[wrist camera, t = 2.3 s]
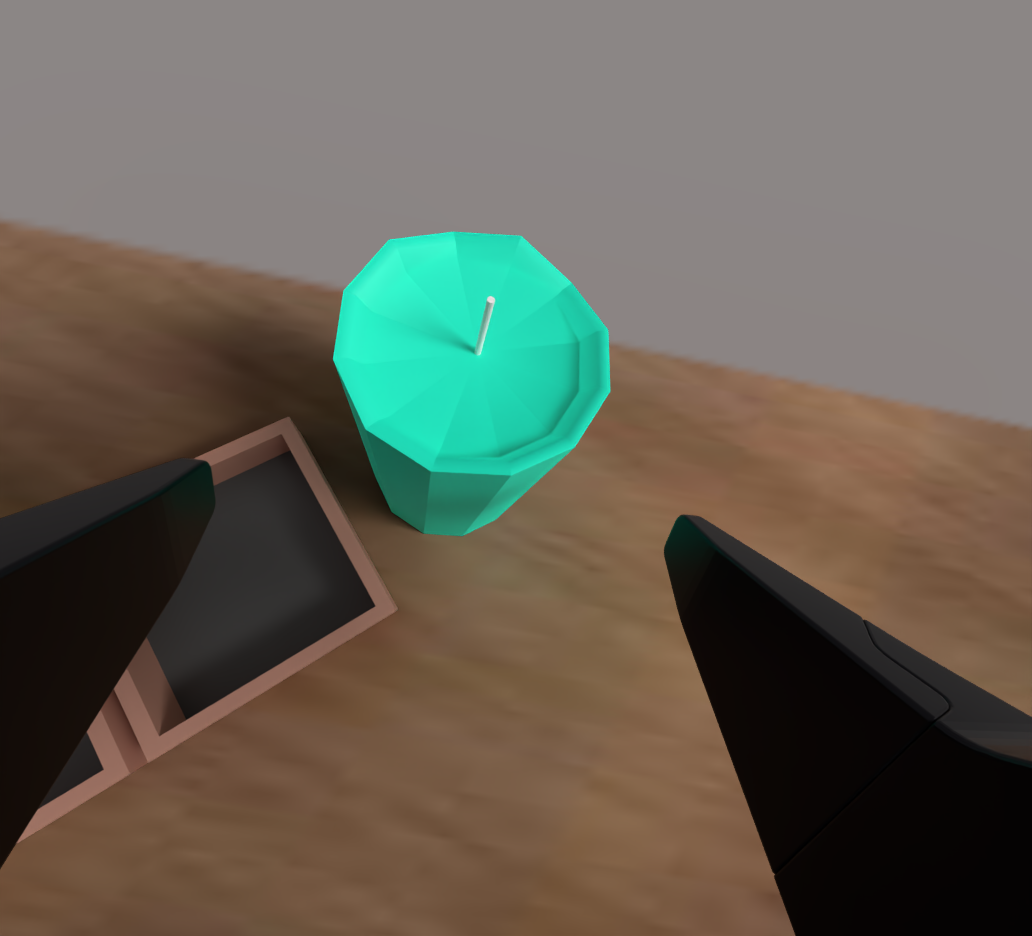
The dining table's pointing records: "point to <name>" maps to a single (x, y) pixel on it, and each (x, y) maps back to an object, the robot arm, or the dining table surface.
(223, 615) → the tray
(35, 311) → the dining table surface
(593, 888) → the dining table surface
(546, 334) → the candle
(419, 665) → the dining table surface
